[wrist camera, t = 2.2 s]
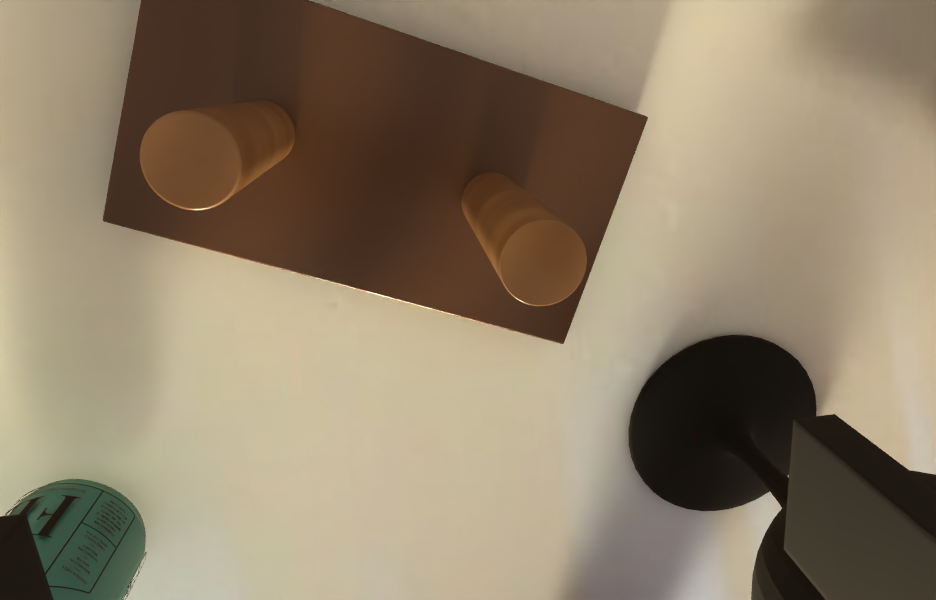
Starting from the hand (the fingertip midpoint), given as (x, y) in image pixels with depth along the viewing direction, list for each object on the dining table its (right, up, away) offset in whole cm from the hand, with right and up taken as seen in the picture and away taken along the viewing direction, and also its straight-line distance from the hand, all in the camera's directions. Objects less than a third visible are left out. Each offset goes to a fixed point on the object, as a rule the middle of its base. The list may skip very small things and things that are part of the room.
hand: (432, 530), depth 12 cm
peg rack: (-3, +10, +19) cm, 22 cm away
